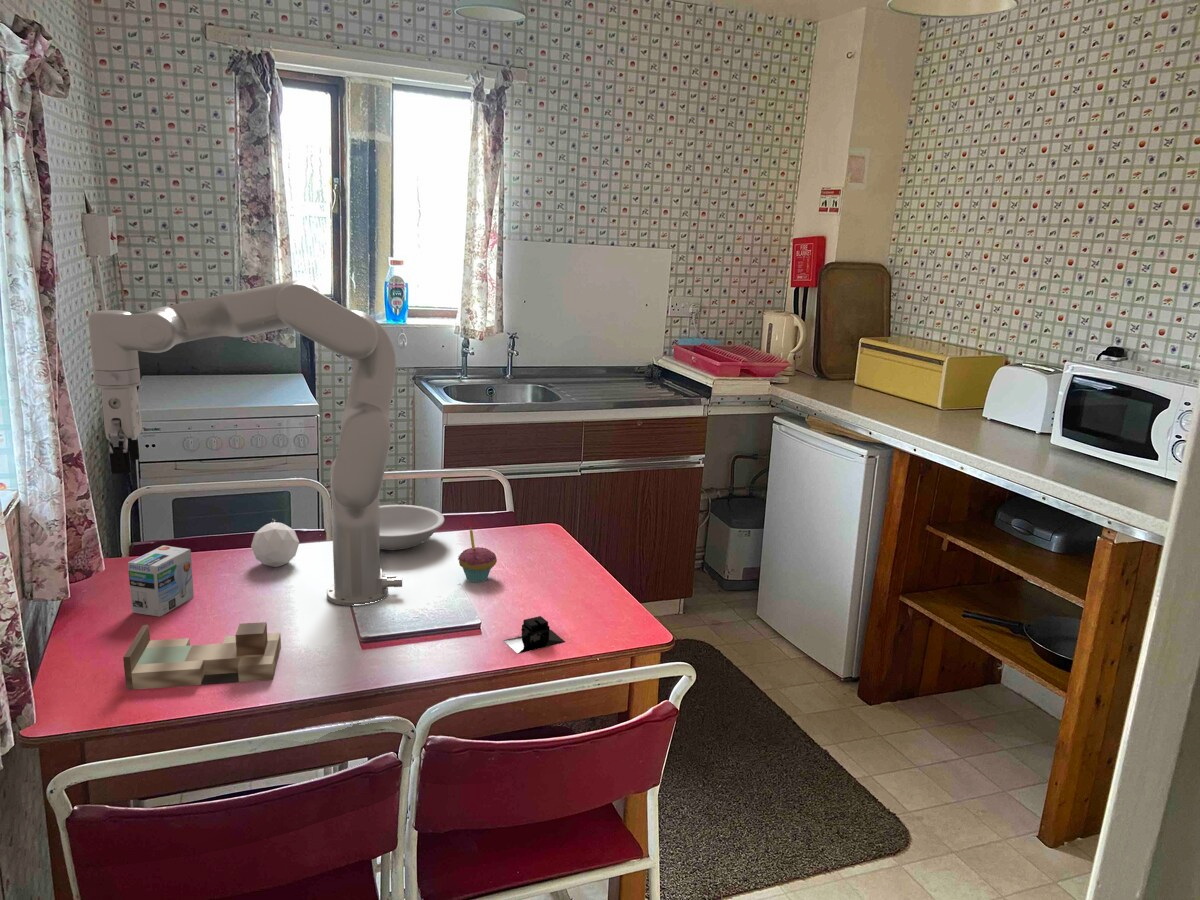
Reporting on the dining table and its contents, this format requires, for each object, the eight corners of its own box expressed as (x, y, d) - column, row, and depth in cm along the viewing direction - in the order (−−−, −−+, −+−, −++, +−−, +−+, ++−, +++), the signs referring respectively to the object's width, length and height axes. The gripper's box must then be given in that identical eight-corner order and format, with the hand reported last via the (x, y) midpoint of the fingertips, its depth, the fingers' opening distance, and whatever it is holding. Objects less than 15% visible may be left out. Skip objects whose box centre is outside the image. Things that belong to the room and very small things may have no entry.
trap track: (281, 647, 161) (279, 617, 160) (272, 679, 150) (271, 647, 148) (145, 656, 156) (142, 625, 154) (126, 690, 144) (123, 657, 143)
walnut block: (267, 642, 156) (266, 622, 155) (264, 654, 152) (263, 633, 151) (240, 644, 155) (239, 623, 154) (236, 656, 151) (235, 634, 150)
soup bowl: (417, 522, 232) (416, 499, 230) (462, 550, 214) (462, 524, 212) (329, 539, 217) (328, 513, 215) (370, 569, 199) (369, 542, 197)
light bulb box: (160, 617, 171) (156, 566, 168) (130, 613, 172) (125, 562, 169) (195, 596, 181) (192, 548, 178) (167, 592, 182) (163, 544, 180)
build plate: (513, 659, 162) (513, 635, 161) (495, 642, 168) (495, 619, 167) (574, 644, 169) (575, 621, 168) (554, 628, 175) (555, 606, 174)
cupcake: (451, 581, 195) (451, 530, 192) (470, 568, 202) (471, 519, 199) (484, 588, 192) (485, 537, 189) (503, 575, 199) (504, 525, 196)
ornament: (252, 574, 193) (252, 554, 206) (301, 569, 196) (298, 550, 210) (249, 531, 191) (249, 514, 204) (299, 527, 194) (296, 511, 208)
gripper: (132, 385, 155) (140, 477, 159) (146, 370, 171) (154, 454, 175) (84, 386, 153) (94, 479, 157) (103, 370, 168) (112, 455, 173)
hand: (126, 466), depth 166 cm, fingers open, 9 cm apart
